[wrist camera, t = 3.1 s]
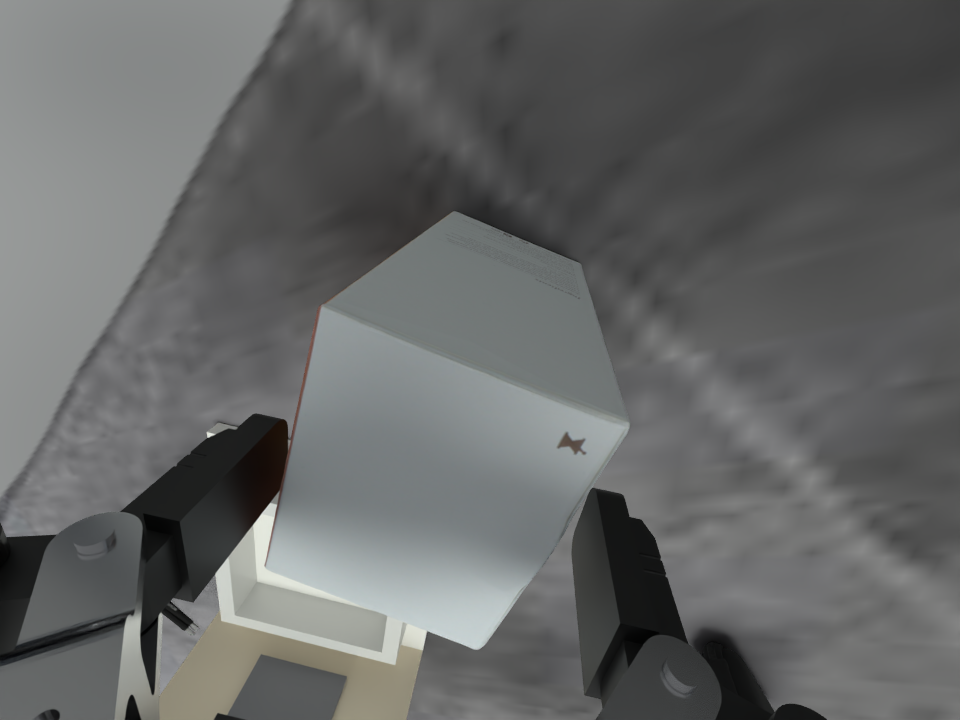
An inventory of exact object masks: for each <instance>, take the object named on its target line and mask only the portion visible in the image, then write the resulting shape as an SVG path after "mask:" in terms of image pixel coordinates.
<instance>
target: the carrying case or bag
mask: <svg viewBox="0 0 960 720" xmlns="http://www.w3.org/2000/svg"><path fill="white" fill-rule="evenodd" d="M703 651H704V654H702V655H701V656H702V657H703V658H704V659H705V660H706V661H707V663H708V664H709V665H710V667H711V668H712V670H713V672H714V673H715V675H716V677H717V680H718V682H719V683H720V684H721V685H722V686H724V687H725V688H726V689H728V690H730V691H731V692H733V693H735V694H737V695H738V696H740V697H742V698H744V699H746V700H747V701H749V702H751V703H753V704H755V705H757V706H758V707H760V708H762V709H764V710H766V711H767V712H769V713H771V714H774V713H775V712H774V710H773V708H772V707H771V705H770V704H769V702H768V700H767V699H766V697H765V695H764V694H763V692H762V690H761V689H760V687H759V686H758V684H757V682H756V681H755V679H754V677H753V676H752V674H751V672H750V671H749V669H748V668H747V666H746V664H745V663H744V662H743V660H742V659H741V657H740V656H739V655H737V654H736V653H735V652H733V651H732V650H730V649H724V648H723V646H722V645H720V644H718V643H715V642H712V643H708V644H707V645H706V646H705V647H704V649H703Z"/></svg>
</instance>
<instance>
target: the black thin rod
mask: <svg viewBox="0 0 960 720" xmlns="http://www.w3.org/2000/svg"><path fill="white" fill-rule="evenodd" d="M162 614H164V615H165V616H166V617H167V618H169V619H170V620H171V621H172V622H174V623H175V624H176V625H177V626H179V627H180V628H181V629H182V630H184V631H186V632H187V633H189V634H190V635H192V634H193V635H195V634H196V633H195V632H194V631H192V630H191V629H189V628H188V627H189V626H188V625H190V626H191V627H192V628H193V629H194V630H199V629H200V628H199V627H197V626H196V625H195V624H194V623H193V621H192V620H191V619H190V618H188V617H187V616H186V615H185V614H184V613H182V612H181V611H180V610H179V609H177V608H176V607H174V606H173V605H172V604H171V603H168V605H167V606H166V607H165V608H164V609H163V611H162Z"/></svg>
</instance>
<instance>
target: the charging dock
mask: <svg viewBox="0 0 960 720" xmlns="http://www.w3.org/2000/svg"><path fill="white" fill-rule="evenodd" d="M228 428H230V429H235V430H236V429H237V428H238V427H235V426H230V425H226V424H222V423H217V424H216V425H215V426H214V427H212V428H211V429H210V430H209V431H208V432H207V437H208V438H209V437H211V436H213V435H215V434H217V433H219V432H222V431H224V430H226V429H228ZM290 441H291V440H289V439H288V450H289V446H290ZM279 492H280V491H279ZM279 492H278V493H277V495H276V496H275V497H274V499H273V500H272V501H271V502H270V504H269V505H268V506H267V508H266V509H265V510H264V511H263V513H262V514H261V515H260V517H259V518H258V519H257V521H256V522H255V523H254V524H253V526H252V527H251V528H250V530H249V531H248V532H247V533H246V535H245V536H244V537H243V539H242V540H241V541H240V543H239V544H238V545H237V546H236V548H235V549H234V550H233V552H232V553H231V554H230V555H229V557H228V558H227V559H226V561H225V562H224V563H223V565H222V566H221V567H220V568H219V570H218V571H217V572H216V574H215V575H216V583H217V590H218V598H219V606H220V611H219V612H218V614H217V615H216V617H215V618H214V619H213V621H212V622H211V624H210V625H209V626H208V628H207V629H206V631H205V632H204V634H203V635H202V636H201V638H200V639H199V641H198V642H197V644H196V645H195V646H194V648H193V649H192V651H191V652H190V653H189V655H188V656H187V658H186V659H185V661H184V662H183V663H182V665H181V666H180V668H179V669H178V671H177V672H176V673H175V675H174V676H173V678H172V679H171V680H170V682H169V683H168V685H167V686H166V688H165V689H164V690H163V692H162V693H161V695H160V696H159V716H160V720H214V718H215V717H216V715H217V713H220V714H224V715H228V716H233V717H237V718H241V719H245V720H406V719H407V714H408V710H409V706H410V702H411V698H412V694H413V689H414V685H415V681H416V677H417V673H418V669H419V665H420V660H421V656H422V652H423V648H424V643H425V639H426V634H427V631H426V630H423V629H421V628H418V627H415V626H413V625H410V624H407V623H405V622H402V621H399V620H397V619H394V618H391V617H389V616H386V615H384V614H381V613H378V612H376V611H373V610H370V609H368V608H365V607H362V606H360V605H357V604H355V603H352V602H350V601H347V600H345V599H342V598H339V597H337V596H334V595H331V594H329V593H326V592H324V591H322V590H319V589H316V588H313V587H310V586H307V585H305V584H302V583H300V582H297V581H295V580H292V579H289V578H287V577H284V576H281V575H279V574H276V573H273V572H271V571H269V570H267V569H266V568H265V566H264V565H265V562H266V557H267V552H268V547H269V542H270V537H271V532H272V527H273V522H274V517H275V512H276V507H277V503H278V497H279Z"/></svg>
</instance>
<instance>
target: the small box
mask: <svg viewBox="0 0 960 720" xmlns="http://www.w3.org/2000/svg"><path fill="white" fill-rule="evenodd" d="M629 428H630V420H629V417H628V414H627V411H626V408H625V405H624V403H623V399H622V396H621V392H620V389H619V385H618V382H617V379H616V376H615V373H614V369H613V366H612V363H611V360H610V357H609V353H608V350H607V347H606V344H605V341H604V337H603V334H602V331H601V328H600V325H599V321H598V318H597V315H596V312H595V309H594V305H593V302H592V299H591V295H590V292H589V289H588V286H587V282H586V279H585V276H584V273H583V269H582V266H581V264H580V263H578V262H576V261H573V260H571V259H568V258H566V257H564V256H561V255H559V254H556V253H554V252H551V251H549V250H547V249H545V248H542V247H539V246H537V245H535V244H532V243H530V242H527V241H525V240H522V239H520V238H518V237H515V236H513V235H511V234H508V233H506V232H504V231H501V230H499V229H496V228H494V227H492V226H490V225H487V224H485V223H483V222H480V221H478V220H475V219H473V218H471V217H468V216H466V215H463V214H461V213H459V212H456V211H453V212H451V213H450V214H449V215H447V216H445V217H444V218H443V219H441V220H440V221H439V222H437V223H436V224H435V225H433V226H432V227H430V228H429V229H428V230H426V231H425V232H423V233H422V234H421V235H419V236H418V237H416V238H415V239H414V240H412V241H411V242H409V243H408V244H406V245H405V246H404V247H402V248H401V249H399V250H398V251H397V252H395V253H394V254H392V255H391V256H390V257H388V258H387V259H385V260H384V261H383V262H381V263H380V264H379V265H377V266H376V267H375V268H373V269H372V270H370V271H369V272H368V273H366V274H365V275H363V276H362V277H361V278H359V279H358V280H356V281H355V282H354V283H352V284H351V285H349V286H348V287H346V288H345V289H344V290H342V291H341V292H339V293H338V294H336V295H335V296H333V297H332V298H330V299H329V300H328V301H326V302H325V303H323V304H322V305H320V306H319V308H318V310H317V315H316V319H315V324H314V329H313V334H312V338H311V343H310V348H309V353H308V358H307V363H306V368H305V373H304V378H303V383H302V387H301V392H300V397H299V402H298V407H297V411H296V416H295V421H294V425H293V430H292V436H291V441H290V446H289V450H288V454H287V459H286V464H285V470H284V474H283V478H282V482H281V487H280V492H279V497H278V503H277V507H276V512H275V517H274V522H273V527H272V532H271V537H270V542H269V547H268V552H267V557H266V562H265V565H264V566H265V568H266V569H267V570H269V571H271V572H273V573H276V574H279V575H281V576H284V577H287V578H289V579H292V580H295V581H297V582H300V583H302V584H305V585H307V586H310V587H313V588H316V589H319V590H322V591H324V592H326V593H329V594H331V595H334V596H337V597H339V598H342V599H345V600H347V601H350V602H352V603H355V604H357V605H360V606H362V607H365V608H368V609H370V610H373V611H376V612H378V613H381V614H384V615H386V616H389V617H391V618H394V619H397V620H399V621H402V622H405V623H407V624H410V625H413V626H415V627H418V628H421V629H423V630H426V631H428V632H431V633H434V634H436V635H439V636H442V637H444V638H447V639H450V640H452V641H455V642H457V643H460V644H462V645H465V646H467V647H470V648H472V649H477V650H478V649H480V648H481V647H483V646H484V645H485V644H486V643H487V641H488V640H489V638H490V637H491V636H492V635H493V633H494V632H495V630H496V629H497V627H498V626H499V625H500V623H501V622H502V620H503V619H504V618H505V616H506V615H507V614H508V612H509V611H510V609H511V608H512V606H513V605H514V603H515V602H516V600H517V599H518V597H519V596H520V595H521V593H522V592H523V591H524V589H525V588H526V586H527V585H528V584H529V582H530V581H531V580H532V579H533V577H534V576H535V575H536V574H537V573H538V571H539V570H540V569H541V568H542V567H543V565H544V564H545V562H546V561H547V559H548V558H549V557H550V555H551V554H552V552H553V551H554V549H555V547H556V546H557V544H558V542H559V541H560V539H561V538H562V536H563V534H564V533H565V531H566V529H567V527H568V525H569V523H570V521H571V519H572V518H573V516H574V514H575V512H576V511H577V509H578V508H579V506H580V505H581V503H582V502H583V500H584V499H585V497H586V495H587V494H588V492H589V491H590V489H591V488H592V486H593V485H594V484H595V482H596V481H597V479H598V477H599V476H600V474H601V472H602V471H603V469H604V467H605V466H606V464H607V463H608V462H609V460H610V459H611V457H612V456H613V454H614V453H615V451H616V450H617V448H618V446H619V445H620V443H621V442H622V441H623V439H624V438H625V436H626V435H627V433H628V430H629Z"/></svg>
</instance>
